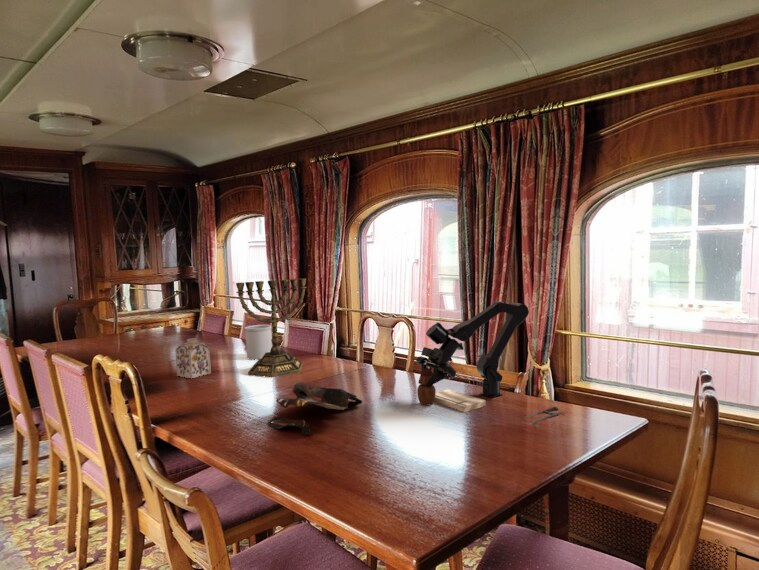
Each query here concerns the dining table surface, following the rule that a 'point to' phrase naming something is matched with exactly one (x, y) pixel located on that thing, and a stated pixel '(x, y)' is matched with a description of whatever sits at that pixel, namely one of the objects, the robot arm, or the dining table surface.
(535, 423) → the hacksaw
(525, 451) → the dining table surface
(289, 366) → the menorah
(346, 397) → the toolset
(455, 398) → the maple board
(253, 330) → the utensil holder
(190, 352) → the decorative jar
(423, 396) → the wooden figurine
